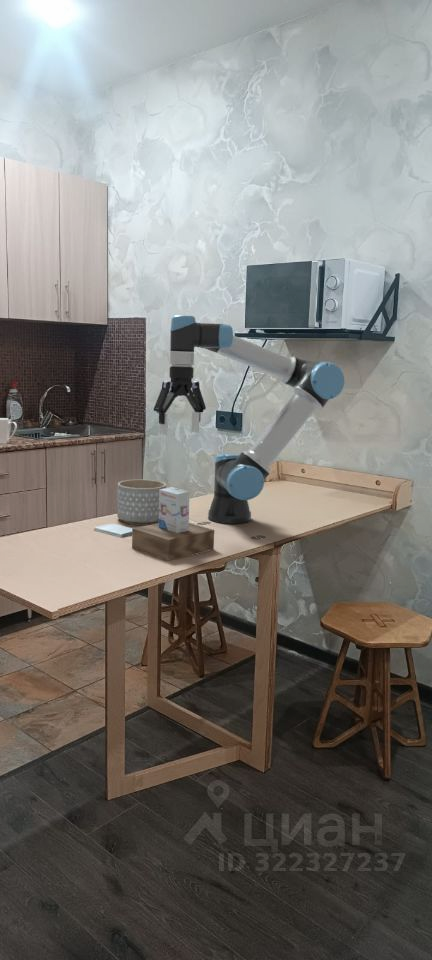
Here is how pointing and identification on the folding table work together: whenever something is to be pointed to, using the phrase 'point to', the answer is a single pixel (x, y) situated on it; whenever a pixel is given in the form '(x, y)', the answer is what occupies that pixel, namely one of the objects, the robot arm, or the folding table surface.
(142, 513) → the planter
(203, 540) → the walnut stand
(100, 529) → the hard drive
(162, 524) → the ink box
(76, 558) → the folding table surface
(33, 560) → the folding table surface
